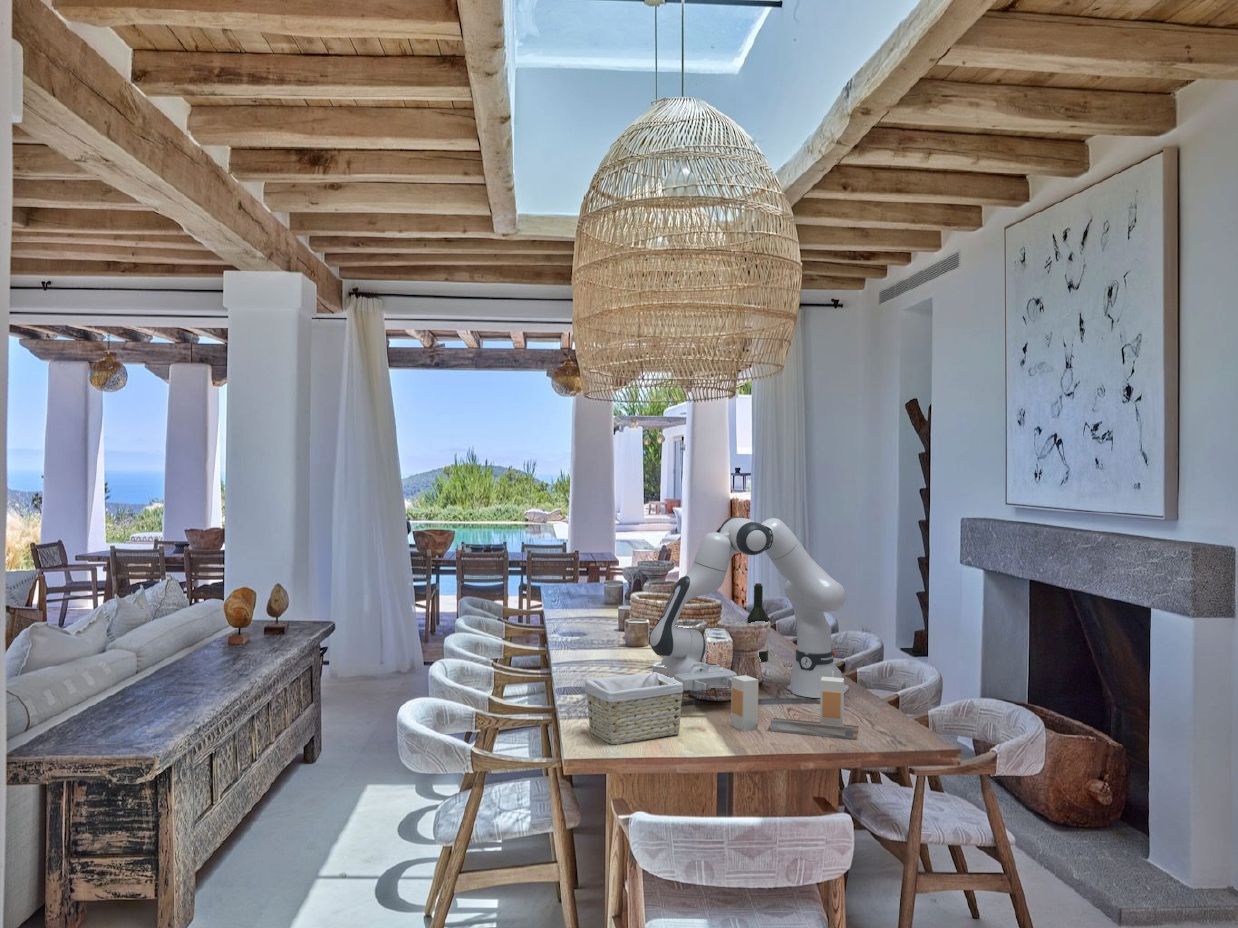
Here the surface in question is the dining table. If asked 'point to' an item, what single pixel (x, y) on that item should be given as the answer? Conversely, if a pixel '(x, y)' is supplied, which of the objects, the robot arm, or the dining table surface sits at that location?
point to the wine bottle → (759, 616)
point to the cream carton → (744, 703)
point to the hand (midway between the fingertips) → (720, 685)
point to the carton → (832, 701)
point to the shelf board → (813, 728)
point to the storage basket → (634, 707)
